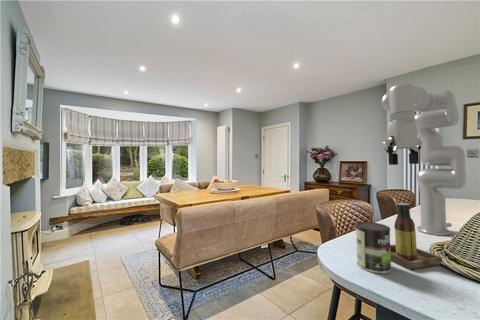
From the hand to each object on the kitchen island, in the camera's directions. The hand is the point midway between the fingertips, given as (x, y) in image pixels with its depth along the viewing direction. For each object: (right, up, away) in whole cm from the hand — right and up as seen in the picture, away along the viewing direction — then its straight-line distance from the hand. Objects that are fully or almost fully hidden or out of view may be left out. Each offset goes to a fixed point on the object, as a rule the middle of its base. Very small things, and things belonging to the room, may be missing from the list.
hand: (403, 164), depth 81 cm
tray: (+1, -35, 0) cm, 35 cm away
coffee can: (-15, -36, -5) cm, 39 cm away
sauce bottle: (+1, -35, 0) cm, 35 cm away
